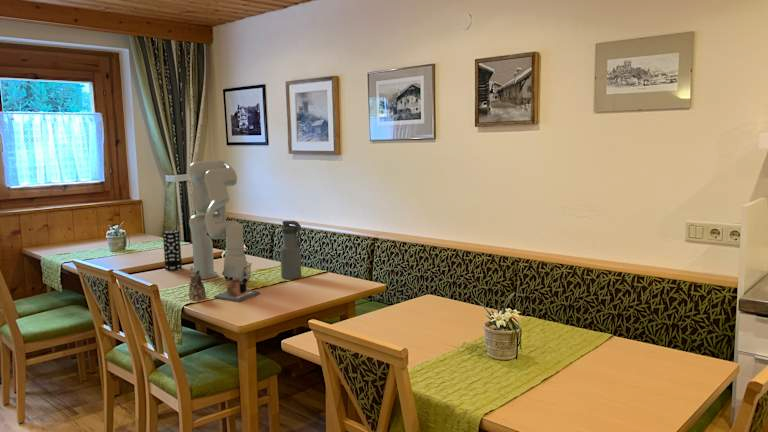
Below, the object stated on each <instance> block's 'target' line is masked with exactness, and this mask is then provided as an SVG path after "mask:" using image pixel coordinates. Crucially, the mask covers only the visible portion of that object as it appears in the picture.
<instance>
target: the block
mask: <svg viewBox="0 0 768 432" xmlns="http://www.w3.org/2000/svg"><path fill="white" fill-rule="evenodd" d="M240 284H241V282H240V279H238V278H233V279H232V280H229V281H227V280H226V291H227V294H228V295H233V296H240V295H243V294H245V293H247V290H248V282H247V283H246V292H244V293H240Z"/></svg>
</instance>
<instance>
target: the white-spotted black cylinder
mask: <svg viewBox="0 0 768 432" xmlns="http://www.w3.org/2000/svg"><path fill="white" fill-rule="evenodd" d="M162 241H163V255H164V256H163V257H164V268H165V269H164V270H165V271H167V272H174V271H180V270H182V269H183V263H182V262H183V261H182V248H181V246H182V245H181V233H180V230H175V229H173V230H171V229H170V230H164V231H162Z"/></svg>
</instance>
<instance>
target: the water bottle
mask: <svg viewBox="0 0 768 432" xmlns="http://www.w3.org/2000/svg"><path fill="white" fill-rule="evenodd" d="M282 225H283V226H282V235H283V237H282V238H283V239H282V241H283V245H282V246H281V247H280V253H279V254H280V275H281V278H282V279H284V280H297V279H299V278H300V277H301V276H302V260H301V258H302V257H301V252H302V251H301V247H300V246H301V244H302V235H301V231H302V226H301V224H300V223H299V222H298V221H295V220H283V221H282Z"/></svg>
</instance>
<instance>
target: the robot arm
mask: <svg viewBox="0 0 768 432" xmlns="http://www.w3.org/2000/svg"><path fill="white" fill-rule="evenodd" d="M188 167H189V168H188V174H189V177H190V181H191V184H192V185H191V186H192V192H191V193H192V196H191V197H192V198H191V199H192V209H193V211H195V212H197V213H198V214H197V213H196V214H193V215H191V216H190V218H189V221H188V225H189V229H190V235H191V242H192V243H191V244H192V257H193V266H191V267H190V268H189V269H188V271H190V272H192V273H193V272H197V271H198V270H199V271H200V272H199V275H200V276H201V280H208V279H209V280H210V279H212V278H213V279H214V278H216V277H217V276H218V272H217V271H215V266H214V263H215V261H214V246H213V240H221V239H225V249H224V251H225V252H226V254H224V260H223V261H224V262H223V271H222V272H221V274H222V275H223V277H224V279H225V281H226V282H227V281H229V280H232V279H235V278H238V279H240V282H241V284H240V293H244V292H246V283H247V284H248V281H249V280H250V279H251V277H252V275H251V274H250V273H249V271H248V270H249V269H248V262H247V257H246V254H245V245H244V244H245V243H244V227H243V224H241V223H239V222H238V221H237V220H227V214H226V213H227V204H228V203H229V202H230V199H231V198H230V195H229V192H228V191H229V190H228V188H227V187H234V186H235V185H236V184H237V181H238V175H237V173H236V171H235V169H234V168H233V167H232V166H231V165H230V164H229V163H228V162H227V161H225V160H203V161H202V160H201V161H200V160H199V161H194V162H192V163H191V164H189V166H188Z"/></svg>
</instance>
